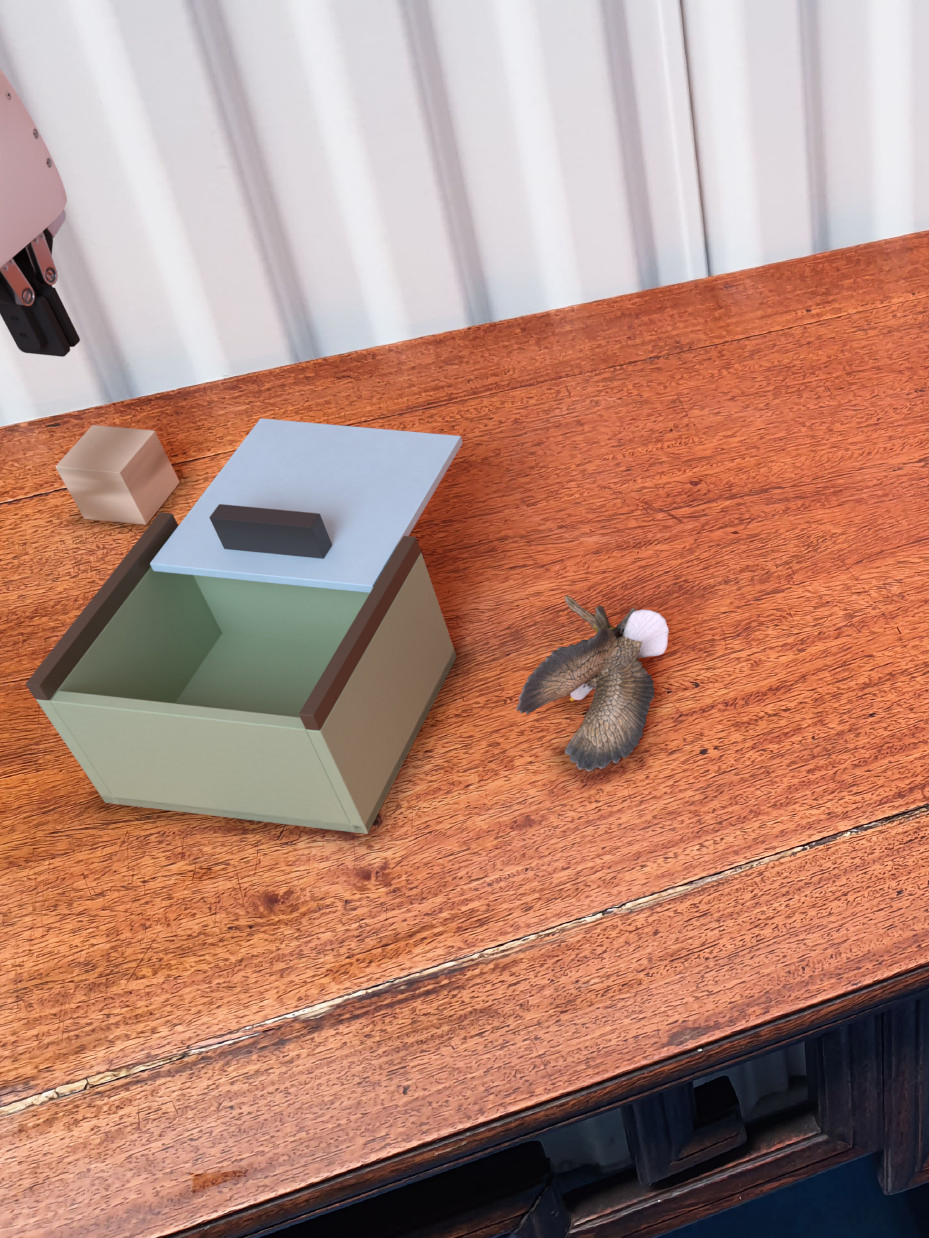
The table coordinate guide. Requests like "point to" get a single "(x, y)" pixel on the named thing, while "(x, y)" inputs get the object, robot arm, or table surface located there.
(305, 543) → the light blue lid
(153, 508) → the block
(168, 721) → the case
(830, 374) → the table surface
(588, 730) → the eagle figurine
